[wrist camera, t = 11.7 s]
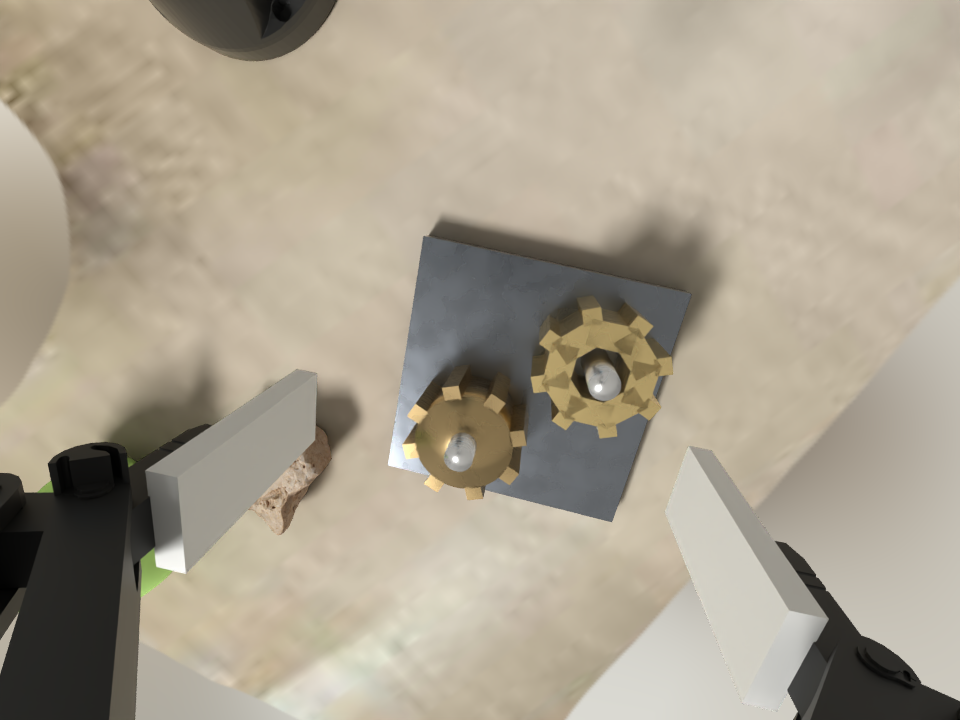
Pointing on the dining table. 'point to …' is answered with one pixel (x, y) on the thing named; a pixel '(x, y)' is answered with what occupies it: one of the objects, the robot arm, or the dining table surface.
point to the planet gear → (633, 365)
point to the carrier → (514, 379)
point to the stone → (293, 485)
